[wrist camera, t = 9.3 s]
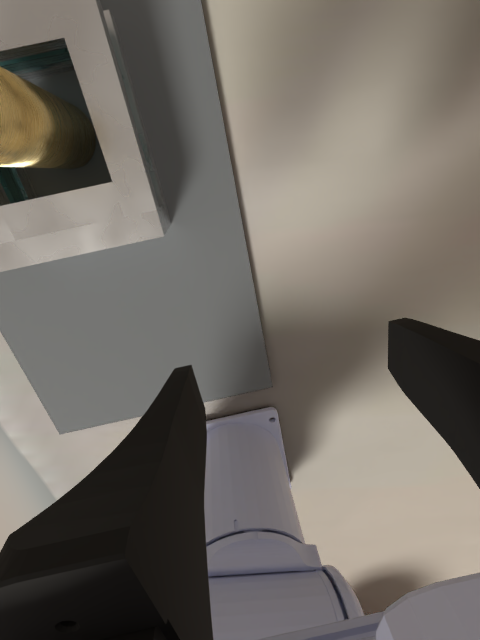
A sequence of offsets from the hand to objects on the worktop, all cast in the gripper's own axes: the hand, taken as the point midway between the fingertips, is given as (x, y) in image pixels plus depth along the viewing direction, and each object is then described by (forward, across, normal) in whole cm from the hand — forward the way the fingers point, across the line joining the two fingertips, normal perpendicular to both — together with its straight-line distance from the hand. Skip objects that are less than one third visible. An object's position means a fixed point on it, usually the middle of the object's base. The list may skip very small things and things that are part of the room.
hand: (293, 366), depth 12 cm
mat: (+10, +8, -4) cm, 14 cm away
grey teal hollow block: (+10, +8, -11) cm, 17 cm away
